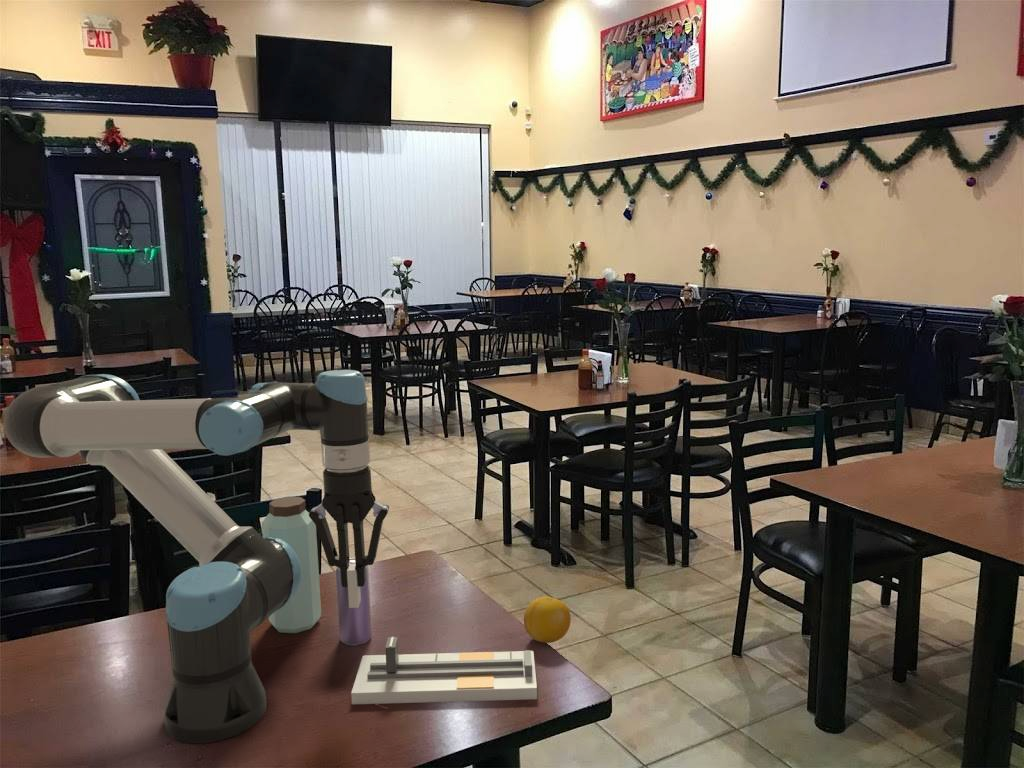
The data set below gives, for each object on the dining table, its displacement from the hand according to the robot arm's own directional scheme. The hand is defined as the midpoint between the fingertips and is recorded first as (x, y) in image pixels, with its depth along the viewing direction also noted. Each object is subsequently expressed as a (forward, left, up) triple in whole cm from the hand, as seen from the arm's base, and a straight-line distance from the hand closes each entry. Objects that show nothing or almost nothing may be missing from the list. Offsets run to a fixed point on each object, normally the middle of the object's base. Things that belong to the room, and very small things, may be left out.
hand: (355, 604), depth 134 cm
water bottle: (-16, +23, -15) cm, 32 cm away
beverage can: (-3, +16, -15) cm, 22 cm away
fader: (+6, 0, -12) cm, 14 cm away
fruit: (+33, +14, -15) cm, 39 cm away
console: (+15, 0, -15) cm, 21 cm away
